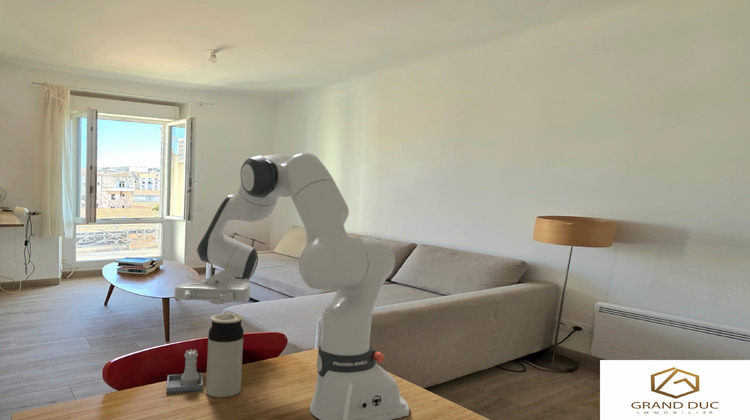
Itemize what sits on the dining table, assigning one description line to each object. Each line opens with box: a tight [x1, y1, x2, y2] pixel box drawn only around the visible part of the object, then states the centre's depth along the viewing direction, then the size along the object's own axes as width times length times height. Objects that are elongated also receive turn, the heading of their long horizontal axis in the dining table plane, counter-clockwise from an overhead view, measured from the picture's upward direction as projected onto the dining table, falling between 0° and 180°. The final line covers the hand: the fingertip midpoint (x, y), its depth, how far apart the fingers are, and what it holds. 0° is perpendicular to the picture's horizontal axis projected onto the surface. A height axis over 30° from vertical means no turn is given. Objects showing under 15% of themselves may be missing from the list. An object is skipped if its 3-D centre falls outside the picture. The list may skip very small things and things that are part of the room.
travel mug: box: [205, 312, 244, 399], centre depth 115 cm, size 8×8×18 cm
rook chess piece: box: [180, 349, 200, 386], centre depth 117 cm, size 4×4×8 cm
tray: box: [166, 372, 204, 395], centre depth 117 cm, size 8×8×2 cm
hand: (204, 297), depth 128 cm, fingers open, 8 cm apart
